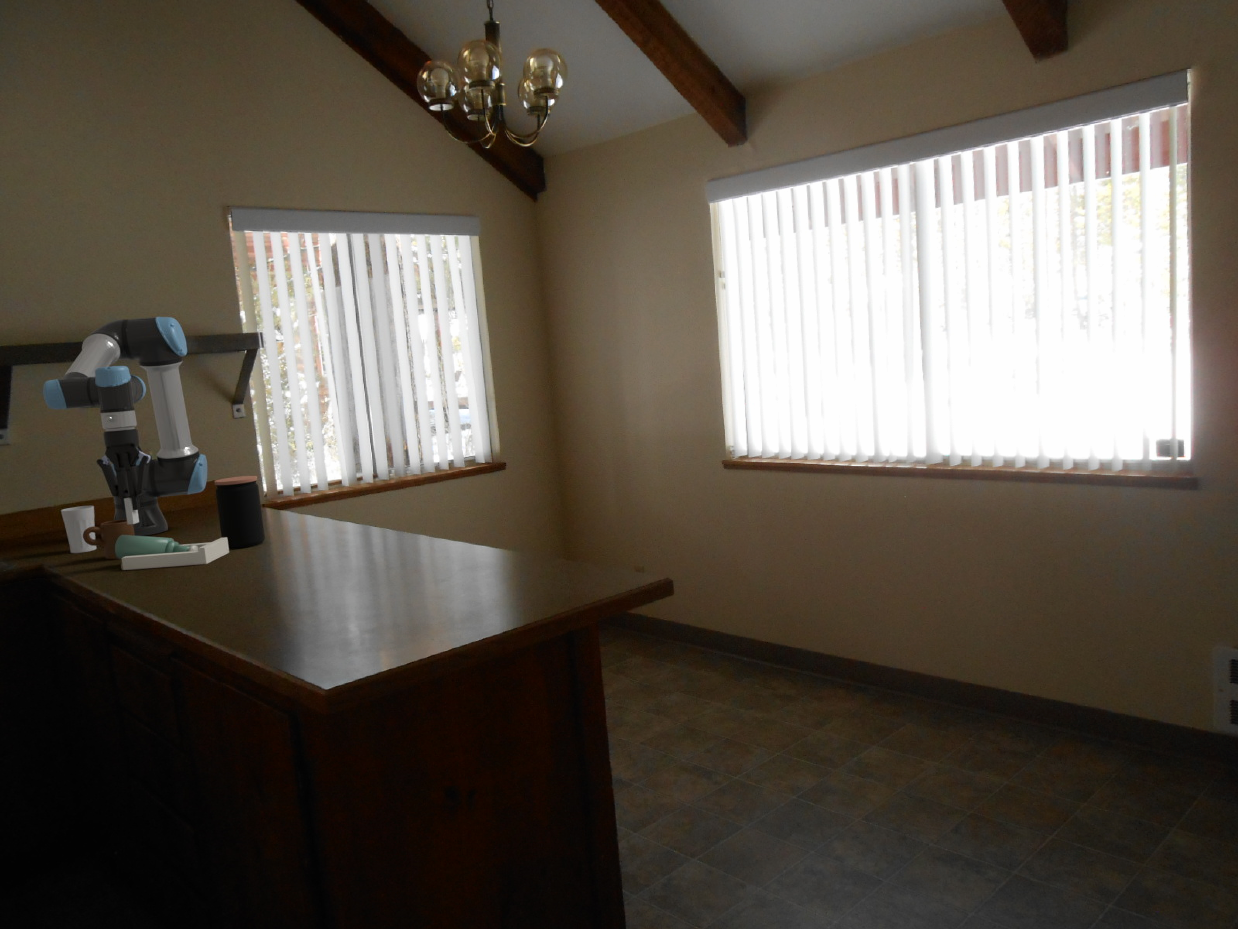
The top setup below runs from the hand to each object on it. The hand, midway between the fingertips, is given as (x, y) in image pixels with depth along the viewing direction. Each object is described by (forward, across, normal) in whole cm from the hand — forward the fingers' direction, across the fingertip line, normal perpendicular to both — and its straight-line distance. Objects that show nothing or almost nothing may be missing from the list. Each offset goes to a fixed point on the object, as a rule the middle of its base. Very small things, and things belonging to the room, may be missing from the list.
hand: (133, 523), depth 231 cm
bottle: (+6, -4, 0) cm, 7 cm away
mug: (+11, -13, +11) cm, 20 cm away
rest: (+10, +9, 0) cm, 14 cm away
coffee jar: (+11, +20, +16) cm, 28 cm away
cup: (+11, -30, +27) cm, 42 cm away
